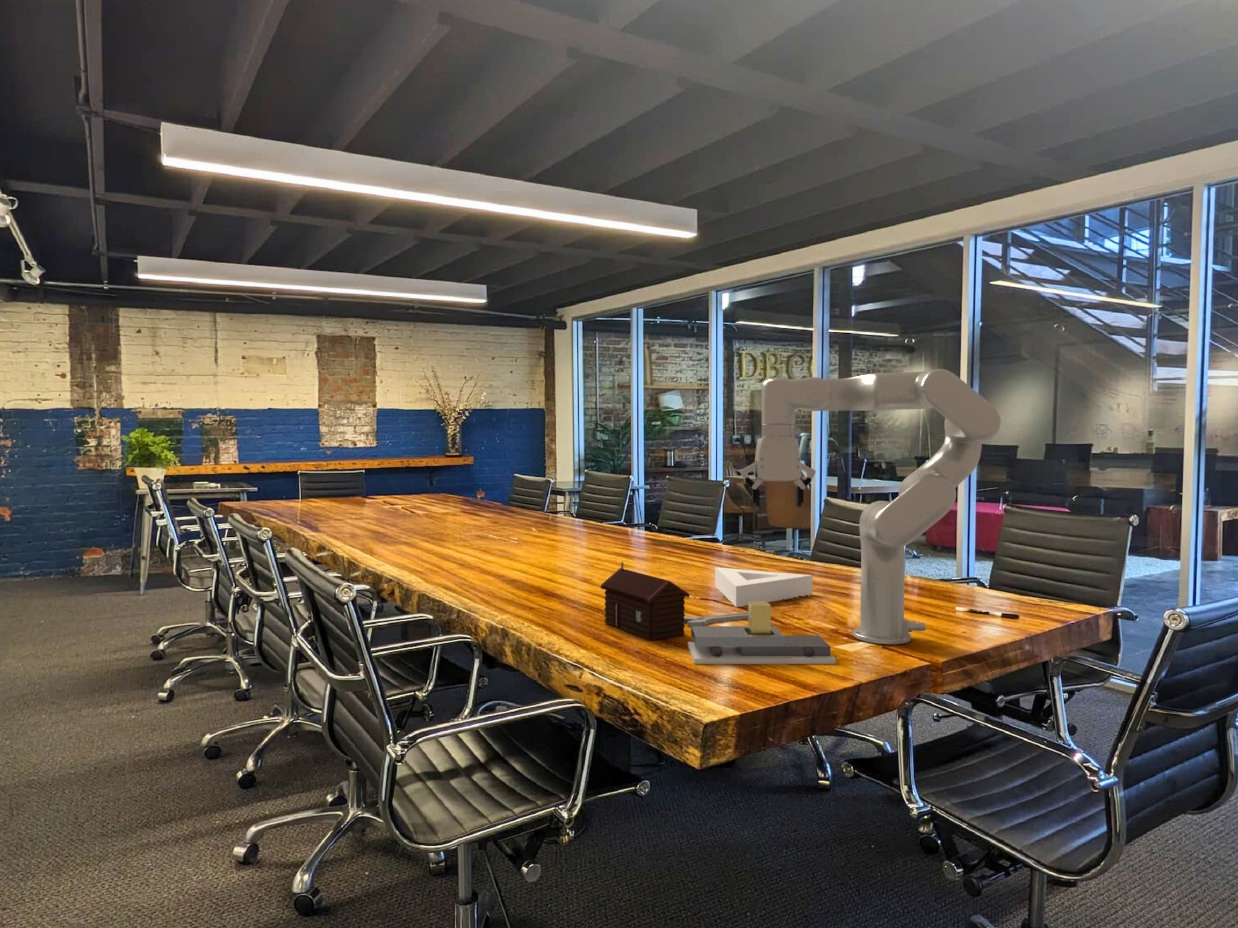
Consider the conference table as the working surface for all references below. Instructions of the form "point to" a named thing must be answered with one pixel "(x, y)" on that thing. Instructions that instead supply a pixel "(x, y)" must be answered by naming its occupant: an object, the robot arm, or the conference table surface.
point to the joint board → (750, 657)
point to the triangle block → (760, 585)
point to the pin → (759, 618)
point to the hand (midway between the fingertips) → (777, 506)
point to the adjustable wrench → (714, 619)
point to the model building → (644, 605)
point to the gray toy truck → (758, 642)
